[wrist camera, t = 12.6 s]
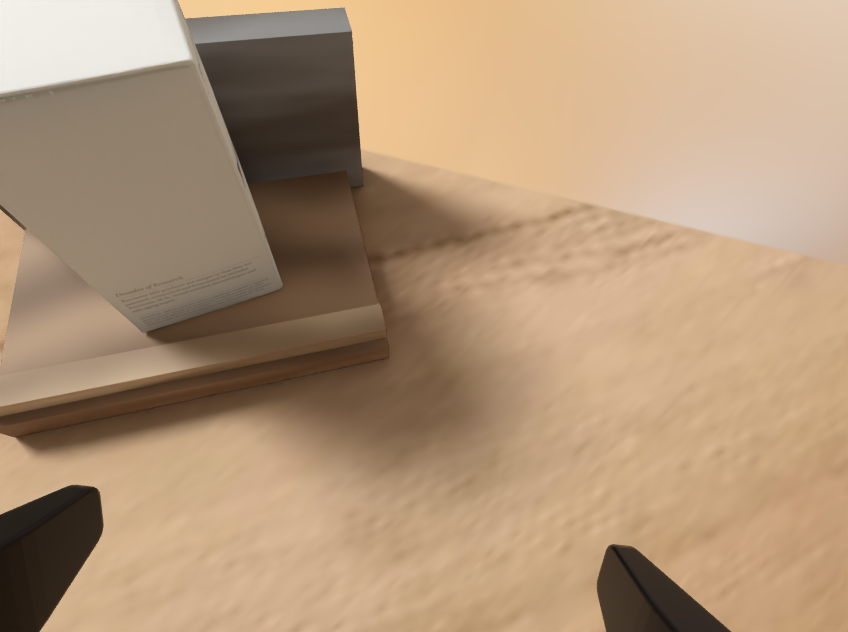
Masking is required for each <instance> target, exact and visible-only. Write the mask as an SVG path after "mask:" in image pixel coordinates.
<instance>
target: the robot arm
mask: <svg viewBox="0 0 848 632" xmlns="http://www.w3.org/2000/svg"><path fill="white" fill-rule="evenodd" d="M102 531H103V515H102V506H101V498H100V492H99V491H98V489H97V488H95V487H90V486H81V485H70V486H67V487H65V488H62V489H60V490H58V491H55V492H53V493H50V494H48V495H46V496H43V497H41V498H39V499H36V500H34V501H32V502H29V503H27V504H24V505H22V506H20V507H17V508H15V509H13V510H10V511H8V512H5V513H3V514H1V515H0V632H40V630H41V629H42V627H43V626H44V625H45V623H46V622H47V620H48V619H49V617H50V616H51V614H52V613H53V611H54V609H55V608H56V606H57V605H58V603H59V602H60V600H61V599H62V597H63V595H64V594H65V592H66V591H67V589H68V588H69V586H70V585H71V583H72V582H73V580H74V578H75V577H76V575H77V574H78V572H79V571H80V569H81V568H82V566H83V564H84V563H85V561H86V560H87V558H88V557H89V555H90V554H91V552H92V550H93V549H94V547H95V546H96V544H97V543H98V541H99V539H100V537H101V535H102ZM597 593H598V598H599V602H600V606H601V611H602V615H603V619H604V624H605V628H606V632H731V631H730V630H729V629H728V628H726V627H725V626H724V625H723V624H722V623H721V622H719V621H718V620H717V619H716V618H715V617H714V616H713V615H711V614H710V613H709V612H708V611H707V610H706V609H705V608H703V607H702V606H701V605H700V604H699V603H698V602H697V601H695V600H694V599H693V598H692V597H691V596H690V595H688V594H687V593H686V592H685V591H684V590H683V589H682V588H680V587H679V586H678V585H677V584H676V583H675V582H674V581H672V580H671V579H670V578H669V577H668V576H667V575H665V574H664V573H663V572H662V571H661V570H660V569H659V568H657V567H656V566H655V565H654V564H653V563H652V562H651V561H649V560H648V559H647V558H646V557H645V556H644V555H643V554H641V553H640V552H639V551H638V550H637V549H635V548H634V547H631V546H625V545H616V544H612V545H609V546H608V548H607V549H606V552H605V555H604V559H603V562H602V566H601V569H600V572H599V576H598V580H597Z"/></svg>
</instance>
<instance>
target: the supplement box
mask: <svg viewBox="0 0 848 632" xmlns="http://www.w3.org/2000/svg"><path fill="white" fill-rule="evenodd" d="M0 205H1V206H3V207H4V208H5V209H6V210H7V211H8V212H9V213H10V214H11V215H13V216H14V217H15V218H16V219H17V220H18V221H19V222H20V223H21V224H22V225H24V226H25V227H26V228H27V229H28V230H29V231H30V232H31V233H33V234H34V235H35V236H36V237H37V238H38V239H39V240H40V241H41V242H42V243H44V244H45V245H46V246H47V247H48V248H49V249H50V250H51V251H52V252H53V253H55V254H56V255H57V256H58V257H59V258H60V259H61V260H62V261H63V262H64V263H66V264H67V265H68V266H69V267H70V268H71V269H72V270H74V271H75V272H76V273H77V274H78V275H79V276H80V277H81V278H82V279H83V280H85V281H86V282H87V283H88V284H89V285H90V286H91V287H92V288H93V289H95V290H96V291H97V292H98V293H99V294H100V295H101V296H102V297H103V298H104V299H106V300H107V301H108V302H109V303H110V304H111V305H112V306H113V307H114V308H115V309H116V310H118V311H119V312H120V313H121V314H122V315H123V316H124V317H126V318H127V319H128V320H129V321H130V322H131V323H132V324H133V325H135V326H136V327H137V328H138V329H139V330H140V332H143V333H144V332H148V331H151V330H155V329H158V328H161V327H164V326H168V325H171V324H174V323H177V322H180V321H183V320H187V319H189V318H193V317H196V316H200V315H203V314H206V313H209V312H212V311H215V310H218V309H222V308H225V307H228V306H231V305H234V304H237V303H240V302H243V301H247V300H249V299H252V298H255V297H258V296H262V295H265V294H268V293H271V292H273V291H276V290H279V289H281V288H282V286H283V284H282V281H281V278H280V275H279V273H278V270H277V267H276V264H275V261H274V258H273V255H272V253H271V250H270V247H269V244H268V241H267V238H266V235H265V232H264V229H263V226H262V224H261V221H260V218H259V215H258V212H257V209H256V207H255V204H254V201H253V198H252V195H251V193H250V190H249V187H248V184H247V182H246V179H245V176H244V173H243V170H242V168H241V165H240V162H239V159H238V157H237V154H236V151H235V149H234V146H233V143H232V141H231V138H230V136H229V133H228V130H227V128H226V125H225V122H224V120H223V117H222V114H221V112H220V109H219V106H218V104H217V101H216V98H215V96H214V93H213V90H212V87H211V85H210V82H209V80H208V77H207V74H206V72H205V69H204V67H203V64H202V62H201V59H200V56H199V54H198V51H197V49H196V46H195V43H194V41H193V38H192V36H191V33H190V31H189V28H188V25H187V23H186V20H185V18H184V15H183V13H182V10H181V8H180V5H179V3H178V1H177V0H0Z"/></svg>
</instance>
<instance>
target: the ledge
mask: <svg viewBox="0 0 848 632" xmlns="http://www.w3.org/2000/svg"><path fill="white" fill-rule="evenodd" d="M185 20H186V23H187V25H188V28H189V31H190V33H191V36H192V38H193V41H194V43H195V46H196V49H197V51H198V54H199V56H200V59H201V62H202V64H203V67H204V69H205V72H206V74H207V77H208V80H209V82H210V85H211V87H212V90H213V93H214V96H215V98H216V101H217V104H218V106H219V109H220V112H221V114H222V117H223V120H224V122H225V125H226V128H227V130H228V133H229V136H230V138H231V141H232V143H233V146H234V149H235V151H236V154H237V157H238V159H239V162H240V165H241V168H242V170H243V173H244V176H245V179H246V182H247V184H248V187H249V190H250V193H251V195H252V198H253V201H254V204H255V207H256V209H257V212H258V215H259V218H260V221H261V224H262V226H263V229H264V232H265V235H266V238H267V241H268V244H269V247H270V250H271V253H272V255H273V258H274V261H275V264H276V267H277V270H278V273H279V275H280V278H281V281H282V284H283V286H282V288H281V289H279V290H276V291H273V292H271V293H268V294H265V295H262V296H258V297H255V298H252V299H249V300H247V301H243V302H240V303H237V304H234V305H231V306H228V307H225V308H222V309H218V310H215V311H212V312H209V313H206V314H203V315H200V316H196V317H193V318H189V319H187V320H183V321H180V322H177V323H174V324H171V325H168V326H164V327H161V328H158V329H155V330H151V331H148V332H144V333H143V332H140V330H139V329H138V328H137V327H136V326H135V325H133V324H132V323H131V322H130V321H129V320H128V319H127V318H126V317H124V316H123V315H122V314H121V313H120V312H119V311H118V310H116V309H115V308H114V307H113V306H112V305H111V304H110V303H109V302H108V301H107V300H106V299H104V298H103V297H102V296H101V295H100V294H99V293H98V292H97V291H96V290H95V289H93V288H92V287H91V286H90V285H89V284H88V283H87V282H86V281H85V280H83V279H82V278H81V277H80V276H79V275H78V274H77V273H76V272H75V271H74V270H72V269H71V268H70V267H69V266H68V265H67V264H66V263H64V262H63V261H62V260H61V259H60V258H59V257H58V256H57V255H56V254H55V253H53V252H52V251H51V250H50V249H49V248H48V247H47V246H46V245H45V244H44V243H42V242H41V241H40V240H39V239H38V238H37V237H36V236H35V235H34V234H33V233H31V232H30V231H29V230H28V229H27V228H26V227H25V226H24V225H22V224H21V223H20V222H19V221H18V220H17V219H16V218H15V217H14V216H13V215H11V214H10V213H9V212H8V211H7V210H6V209H5V208H4V207H3V206H1V205H0V209H1V210H2V211H3V212H4V213H5V214H6V215H8V216H9V217H10V218H11V219H12V220H13V221H14V222H16V223H17V224H18V225H19V226H20V227H21V228H22V229H24V230H25V235H24V240H23V246H22V251H21V256H20V262H19V267H18V273H17V278H16V284H15V289H14V294H13V300H12V305H11V311H10V316H9V322H8V327H7V332H6V338H5V343H4V349H3V354H2V360H1V365H0V433H2V434H5V435H8V436H12V437H18V436H22V435H27V434H32V433H36V432H41V431H46V430H51V429H55V428H60V427H65V426H69V425H74V424H79V423H84V422H88V421H93V420H98V419H102V418H107V417H112V416H117V415H121V414H126V413H131V412H135V411H140V410H145V409H150V408H154V407H159V406H164V405H168V404H173V403H178V402H183V401H187V400H192V399H197V398H201V397H206V396H211V395H216V394H220V393H225V392H230V391H234V390H239V389H244V388H249V387H253V386H258V385H263V384H267V383H272V382H277V381H282V380H286V379H291V378H296V377H300V376H305V375H310V374H315V373H319V372H324V371H329V370H333V369H338V368H343V367H348V366H352V365H357V364H362V363H366V362H371V361H376V360H381V359H385V358H389V345H388V341H387V329H386V325H385V321H384V317H383V313H382V309H381V305H380V304H378V300H377V296H376V292H375V288H374V283H373V279H372V275H371V271H370V267H369V263H368V259H367V254H366V250H365V246H364V242H363V238H362V234H361V230H360V225H359V221H358V217H357V213H356V209H355V205H354V201H353V196H352V192H351V187H358V186H363V177H362V164H361V150H360V138H359V137H360V136H359V123H358V110H357V98H356V83H355V70H354V56H353V41H352V30H351V27H350V24H349V21H348V17H347V14H346V11H345V8H333V9H318V10H304V11H289V12H274V13H260V14H246V15H231V16H218V17H202V18H188V19H185Z"/></svg>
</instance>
